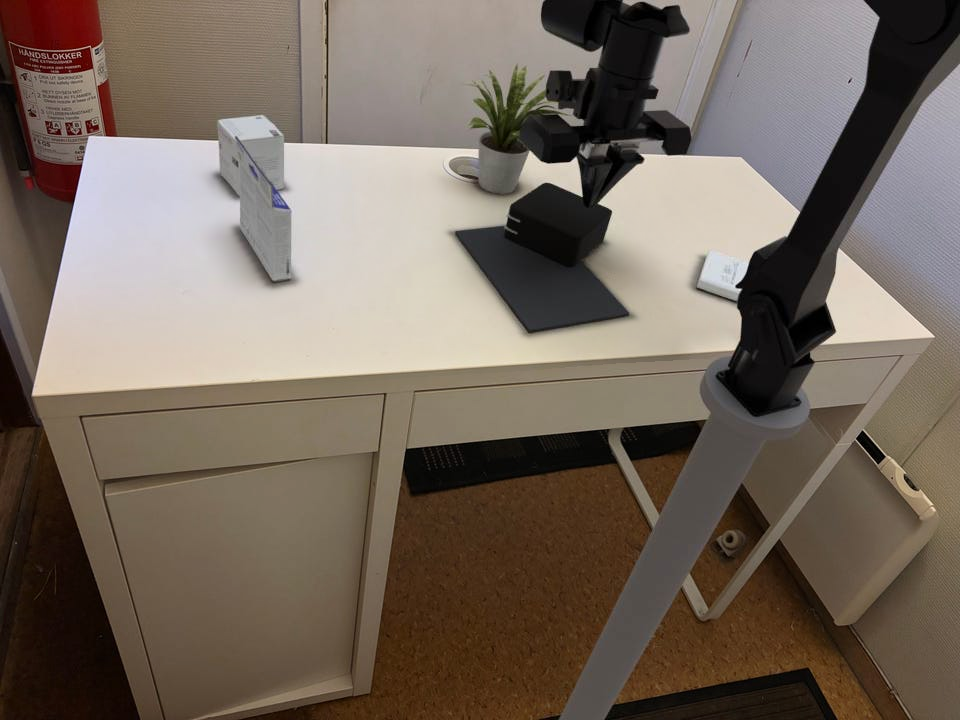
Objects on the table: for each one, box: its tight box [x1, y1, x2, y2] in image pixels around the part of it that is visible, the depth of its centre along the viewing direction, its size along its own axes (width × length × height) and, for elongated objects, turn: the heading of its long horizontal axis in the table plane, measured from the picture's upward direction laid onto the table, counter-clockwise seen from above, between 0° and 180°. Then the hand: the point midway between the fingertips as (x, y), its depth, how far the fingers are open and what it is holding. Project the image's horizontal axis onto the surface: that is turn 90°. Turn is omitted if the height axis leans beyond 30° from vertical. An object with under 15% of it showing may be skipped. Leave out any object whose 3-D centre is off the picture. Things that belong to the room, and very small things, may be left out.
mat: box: [454, 225, 631, 334], centre depth 89 cm, size 20×13×1 cm, turn 25°
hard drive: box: [696, 249, 749, 302], centre depth 93 cm, size 2×8×12 cm
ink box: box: [235, 136, 292, 282], centre depth 80 cm, size 12×2×12 cm, turn 31°
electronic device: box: [503, 182, 613, 267], centre depth 94 cm, size 4×10×10 cm
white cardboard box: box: [216, 114, 285, 197], centre depth 92 cm, size 6×6×7 cm
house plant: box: [461, 63, 572, 195], centre depth 98 cm, size 14×14×16 cm
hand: (588, 206), depth 85 cm, fingers closed
